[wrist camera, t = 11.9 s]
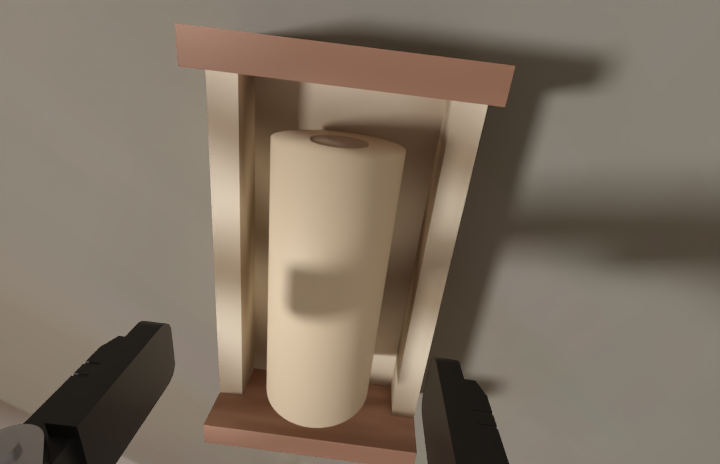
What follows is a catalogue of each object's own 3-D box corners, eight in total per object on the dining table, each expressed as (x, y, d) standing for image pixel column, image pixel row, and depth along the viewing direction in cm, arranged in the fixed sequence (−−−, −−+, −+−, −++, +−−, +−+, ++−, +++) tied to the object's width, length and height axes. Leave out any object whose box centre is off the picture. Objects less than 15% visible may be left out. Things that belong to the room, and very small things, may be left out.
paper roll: (285, 124, 16) (253, 145, 12) (400, 137, 16) (413, 163, 12) (278, 346, 21) (253, 423, 16) (367, 354, 21) (367, 433, 17)
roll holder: (232, 37, 16) (174, 23, 11) (478, 67, 16) (515, 65, 11) (238, 371, 23) (204, 441, 19) (406, 393, 23) (412, 469, 19)
